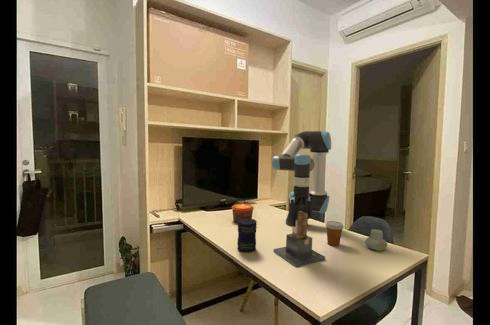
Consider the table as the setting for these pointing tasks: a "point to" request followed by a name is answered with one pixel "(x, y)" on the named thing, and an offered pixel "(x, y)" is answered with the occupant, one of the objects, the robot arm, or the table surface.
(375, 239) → the air freshener
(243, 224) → the storage jar
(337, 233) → the disposable coffee cup
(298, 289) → the table surface
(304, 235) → the column
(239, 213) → the food container
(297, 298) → the table surface
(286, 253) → the grey socket base
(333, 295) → the table surface
